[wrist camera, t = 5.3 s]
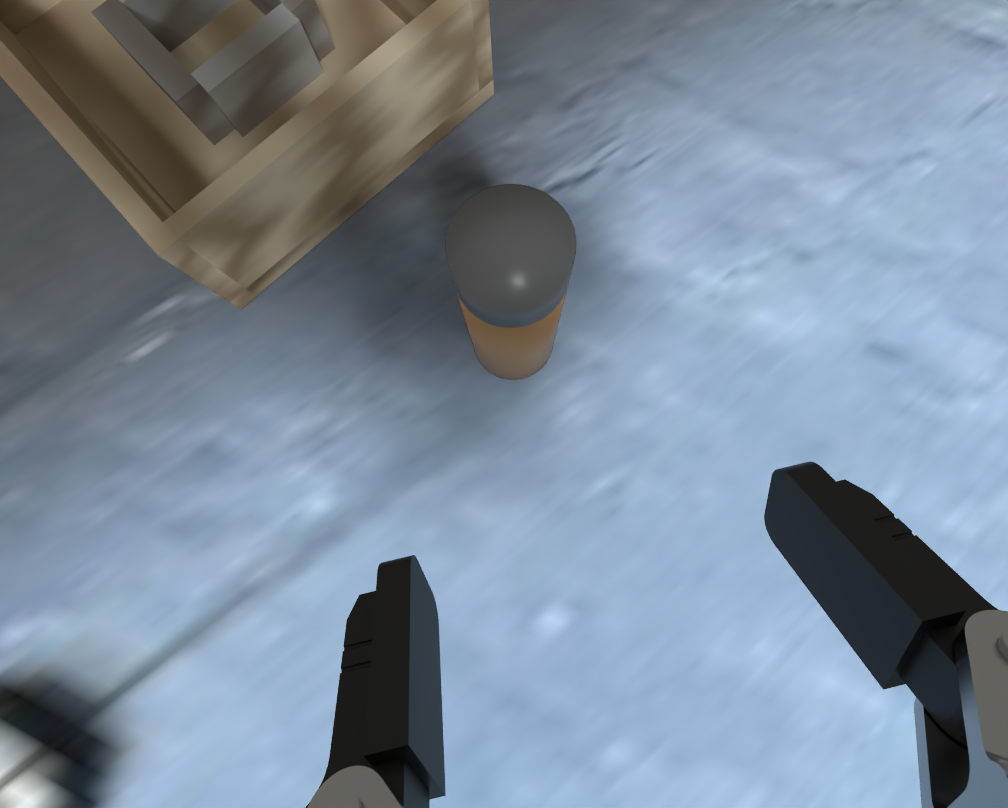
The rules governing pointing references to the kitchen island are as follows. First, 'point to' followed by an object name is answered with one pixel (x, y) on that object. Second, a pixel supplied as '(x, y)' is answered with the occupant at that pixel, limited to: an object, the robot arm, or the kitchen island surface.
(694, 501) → the kitchen island surface
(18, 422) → the kitchen island surface
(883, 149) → the kitchen island surface
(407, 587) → the robot arm
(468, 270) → the grey and orange cylinder
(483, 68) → the walled box
